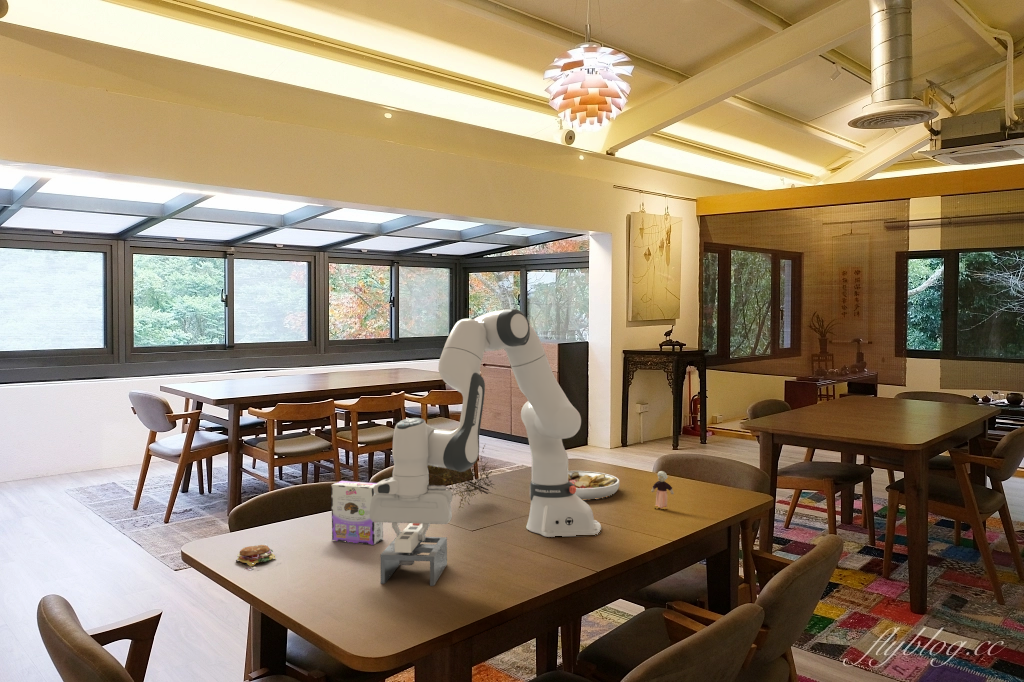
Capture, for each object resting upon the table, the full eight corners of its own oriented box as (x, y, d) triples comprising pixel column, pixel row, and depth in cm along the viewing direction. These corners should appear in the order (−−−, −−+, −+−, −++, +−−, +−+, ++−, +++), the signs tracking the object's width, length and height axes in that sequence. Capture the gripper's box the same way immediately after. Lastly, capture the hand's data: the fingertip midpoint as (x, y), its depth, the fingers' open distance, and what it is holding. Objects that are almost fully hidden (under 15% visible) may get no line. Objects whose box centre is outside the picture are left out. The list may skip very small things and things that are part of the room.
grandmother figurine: (649, 509, 236) (649, 471, 236) (651, 506, 239) (652, 469, 239) (672, 511, 233) (673, 473, 233) (674, 508, 237) (675, 470, 236)
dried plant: (474, 444, 258) (390, 404, 225) (542, 462, 239) (461, 421, 205) (445, 526, 251) (354, 497, 218) (512, 552, 231) (424, 524, 198)
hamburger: (215, 566, 183) (214, 543, 182) (263, 552, 194) (262, 530, 194) (246, 577, 174) (245, 553, 174) (294, 562, 185) (294, 539, 185)
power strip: (425, 548, 183) (425, 520, 183) (411, 568, 168) (411, 537, 168) (410, 547, 183) (410, 519, 183) (394, 567, 168) (394, 537, 168)
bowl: (565, 480, 281) (565, 460, 281) (633, 490, 264) (633, 469, 263) (521, 494, 257) (521, 473, 257) (593, 507, 239) (593, 484, 239)
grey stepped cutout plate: (446, 564, 182) (446, 537, 182) (434, 585, 167) (434, 556, 167) (397, 562, 184) (397, 535, 184) (380, 583, 169) (380, 554, 169)
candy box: (384, 539, 203) (383, 482, 203) (373, 546, 198) (373, 487, 197) (342, 535, 208) (341, 479, 207) (330, 541, 202) (330, 483, 202)
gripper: (454, 482, 177) (454, 537, 177) (375, 480, 179) (375, 535, 180) (449, 488, 171) (449, 545, 171) (367, 486, 173) (367, 542, 173)
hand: (410, 540), depth 175 cm, fingers closed on power strip, 4 cm apart
